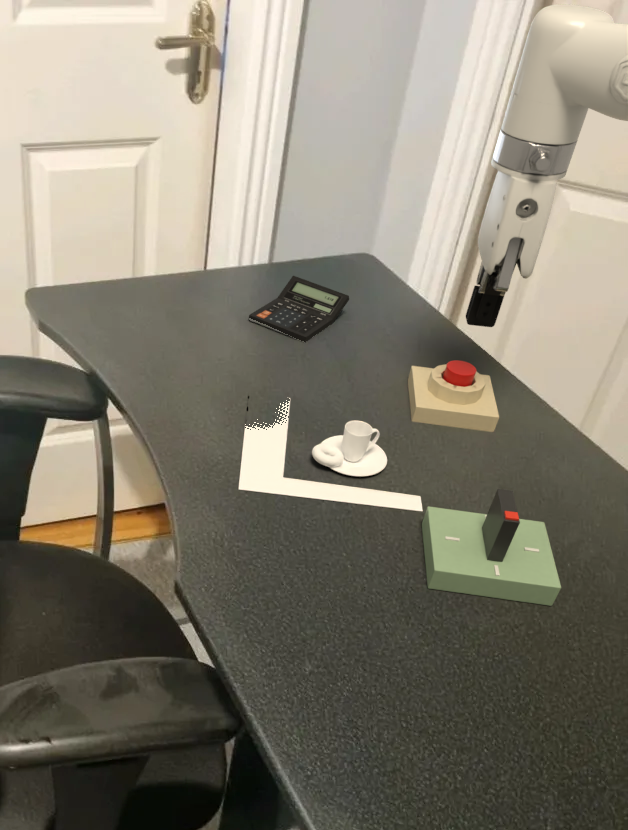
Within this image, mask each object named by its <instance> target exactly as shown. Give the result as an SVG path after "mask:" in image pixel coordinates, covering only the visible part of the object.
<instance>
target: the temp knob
mask: <svg viewBox="0 0 628 830" xmlns="http://www.w3.org/2000/svg"><path fill="white" fill-rule="evenodd" d="M519 519H520V516H519V512H518V508H517V502H516V500H515V494H514V490H510V489H503V488H497V489H496V492H495V494H494V496H493V499H492V502H491V504H490V507H489V509H488V511H487V516H486V519H485V521H484V524H483V526H482V532H483V537H484V543H485V549H486V555H487V560H492V561H499V562H503V559H504V557H505V555H506V553H507V551H508V548H509V546H510V544H511V542H512V539H513V537H514V535H515V533H516V530H517V528H518V526H519V524H520V521H519Z"/></svg>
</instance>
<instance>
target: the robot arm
mask: <svg viewBox="0 0 628 830" xmlns="http://www.w3.org/2000/svg"><path fill="white" fill-rule="evenodd" d="M527 32H528V33H527V35H526V39H525V43H524V46H523V50H522V53H521V56H520V60H519V63H518V67H517V71H516V74H515V78H514V81H513V85H512V88H511V91H510V95H509V99H508V102H507V105H506V109H505V113H504V116H503V119H502V123H501V127H500V131H499V134H498V136H497V142H496V144H495V148H494V152H493V155H492V157H491V162H490V164H491V167H492V168H493V169H495V170H496V171H497V173H496V174H495V179H494V181H493V184H492V187H491V190H490V192H489V196H488V199H487V203H486V207H485V210H484V213H483V216H482V220H481V224H480V227H479V232H478V237H477V249H478V253H479V255H480V260H481V262H480V266H479V269H478V273H477V278H476V282H475V283H476V285H473V286H474V287H473V289H472V293H471V296H470V300H469V303H468V306H467V310H466V313H465V320H466V324H467V325H469V326H476V327H485V328H493V327H494V326H495V325H496V323H497V321H498V316H499V313H500V311H501V307H502V304H503V301H504V299H505V295H506V293H507V292H508V291H509V288H510V285H511V281H512V277H513V275H514V272H515V270H516V266H517V268H518V272H519V274H520V276H521V277H522V278H523V279H528V278H530V277H531V276H532V274H533V272H534V269H535V266H536V263H537V259H538V256H539V252H540V249H541V246H542V243H543V240H544V236H545V233H546V229H547V225H548V222H549V219H550V214H551V211H552V208H553V203H554V199H555V194H556V189H557V185H558V181H559V180H562V179H564V178H565V177H566V175H567V172H568V169H569V166H570V164H571V160H572V157H573V155H574V152H575V149H576V146H577V143H578V141H579V136H580V134H581V132H582V128H583V126H584V122H585V120H586V117H587V114H588V111H589V110H592V111H595V112H597V113H599V114H602V115H604V116H607V117H609V118H612V119H615V120H619V121H623V122H628V23H622V22H621V23H619V22H618V23H617V22H615V19H614V18H613V16H612V15H611V14H610V13H608V12H607V11H606V10H602V9H599V8H595V7H591V6H586V5H580V4H571V3H566V4H565V3H563V4H561V3H560V4H559V3H558V4H557V3H556V4H551V5H547V6H545V7H543V8H541V9H540V10H538V12H537V13H536V14H535V15H534V17H533V19H532V21H531V23H530V26H529V29H528V31H527Z"/></svg>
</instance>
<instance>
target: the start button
mask: <svg viewBox="0 0 628 830" xmlns="http://www.w3.org/2000/svg"><path fill="white" fill-rule="evenodd" d="M446 364H447V365H446V369H445V372H444V375H443V379H444V380H445V381H446V382H447V383H450V384H452V385H455V386H461V387H467V386H471V385H472V383H473V380H474V377H475V374H476V371H477V368H476V367H475V366H474V365H473V364H472V363H470V362H468V361H465V360H450V361H448V362H447V363H446Z"/></svg>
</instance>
